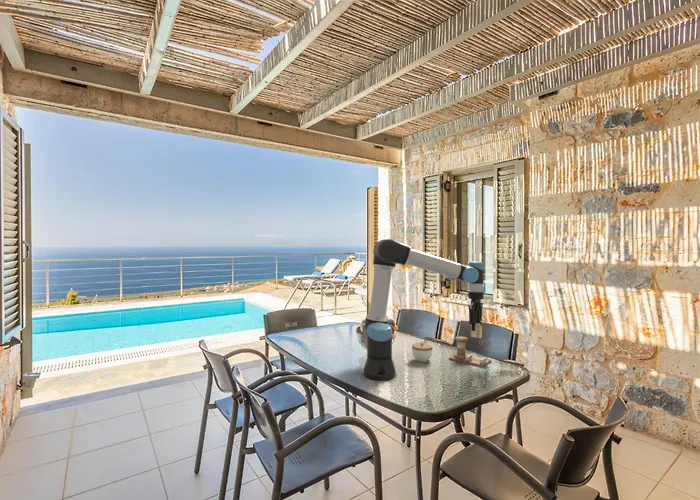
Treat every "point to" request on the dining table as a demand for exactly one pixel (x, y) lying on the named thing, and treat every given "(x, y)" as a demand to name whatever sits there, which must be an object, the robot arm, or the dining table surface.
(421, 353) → the lidded jar
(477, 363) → the board
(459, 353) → the bobbin
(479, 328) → the tab
